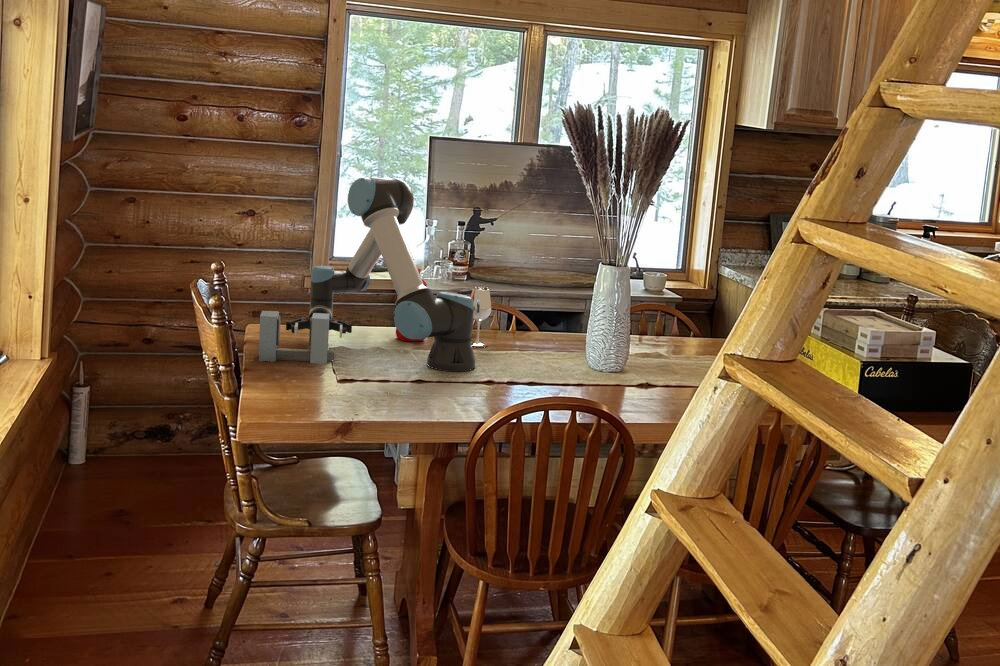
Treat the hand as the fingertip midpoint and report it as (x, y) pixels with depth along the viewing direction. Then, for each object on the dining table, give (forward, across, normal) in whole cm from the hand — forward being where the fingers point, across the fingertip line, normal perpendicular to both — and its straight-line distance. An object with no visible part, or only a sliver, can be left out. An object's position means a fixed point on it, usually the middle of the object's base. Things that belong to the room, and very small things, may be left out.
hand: (318, 332), depth 319 cm
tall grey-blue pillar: (-3, 0, -10) cm, 10 cm away
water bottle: (-39, -30, -10) cm, 50 cm away
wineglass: (-34, -54, -10) cm, 64 cm away
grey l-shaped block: (-3, +6, -10) cm, 12 cm away
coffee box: (-54, -49, -10) cm, 73 cm away
